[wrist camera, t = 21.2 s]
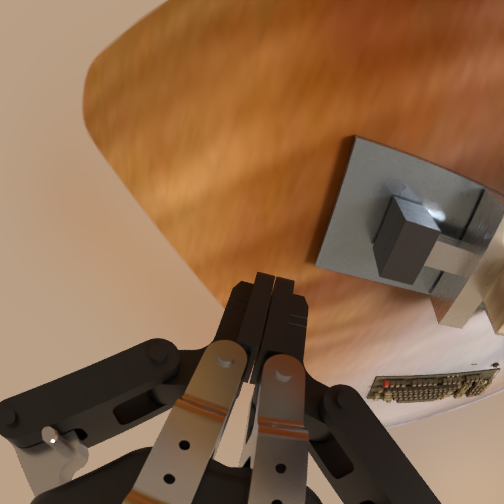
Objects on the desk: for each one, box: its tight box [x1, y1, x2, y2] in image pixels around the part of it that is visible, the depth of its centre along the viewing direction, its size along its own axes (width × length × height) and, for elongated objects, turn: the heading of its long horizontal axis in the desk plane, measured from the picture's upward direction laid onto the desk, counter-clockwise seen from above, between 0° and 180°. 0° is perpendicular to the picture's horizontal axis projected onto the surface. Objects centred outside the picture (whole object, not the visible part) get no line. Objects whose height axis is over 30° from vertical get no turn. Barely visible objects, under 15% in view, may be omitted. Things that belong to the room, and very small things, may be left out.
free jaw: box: [373, 189, 504, 329], centre depth 22 cm, size 12×11×4 cm
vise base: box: [315, 135, 504, 336], centre depth 22 cm, size 12×25×5 cm, turn 81°
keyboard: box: [367, 363, 500, 403], centre depth 36 cm, size 22×9×2 cm, turn 93°
